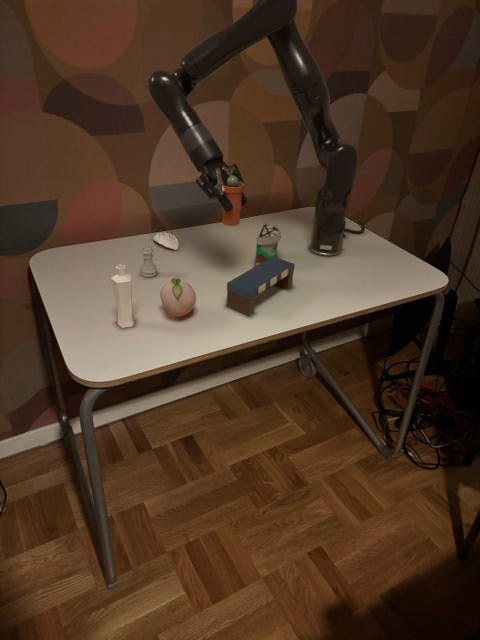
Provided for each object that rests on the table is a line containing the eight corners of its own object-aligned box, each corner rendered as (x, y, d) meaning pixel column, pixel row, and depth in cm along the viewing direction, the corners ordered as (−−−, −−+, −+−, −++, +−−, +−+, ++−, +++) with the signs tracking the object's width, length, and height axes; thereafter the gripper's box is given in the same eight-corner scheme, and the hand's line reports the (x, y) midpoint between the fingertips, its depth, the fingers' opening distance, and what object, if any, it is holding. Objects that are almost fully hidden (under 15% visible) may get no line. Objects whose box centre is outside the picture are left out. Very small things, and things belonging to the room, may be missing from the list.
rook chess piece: (160, 272, 141) (158, 246, 136) (151, 279, 137) (149, 252, 133) (146, 269, 142) (145, 243, 138) (137, 275, 139) (135, 249, 134)
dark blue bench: (271, 278, 141) (273, 256, 137) (292, 287, 137) (295, 264, 133) (226, 306, 127) (226, 282, 123) (248, 317, 124) (250, 292, 120)
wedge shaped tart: (275, 272, 144) (278, 240, 138) (254, 269, 145) (256, 237, 139) (281, 254, 154) (284, 223, 148) (261, 251, 155) (263, 221, 149)
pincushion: (185, 249, 154) (184, 231, 151) (167, 253, 151) (167, 236, 148) (164, 235, 162) (163, 218, 159) (147, 239, 158) (146, 222, 155)
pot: (231, 216, 131) (233, 170, 124) (246, 223, 127) (249, 176, 121) (215, 221, 128) (216, 174, 121) (229, 229, 124) (231, 181, 118)
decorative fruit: (200, 322, 121) (200, 286, 115) (167, 328, 118) (165, 291, 113) (190, 303, 128) (189, 268, 122) (158, 307, 125) (156, 272, 120)
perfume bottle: (117, 318, 121) (111, 262, 113) (135, 317, 121) (131, 262, 113) (114, 328, 117) (108, 271, 109) (134, 328, 117) (129, 271, 109)
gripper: (189, 143, 116) (228, 207, 116) (228, 133, 125) (264, 192, 126) (173, 162, 121) (210, 222, 122) (211, 151, 131) (246, 207, 132)
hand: (237, 206), depth 124 cm, fingers closed on pot, 5 cm apart
